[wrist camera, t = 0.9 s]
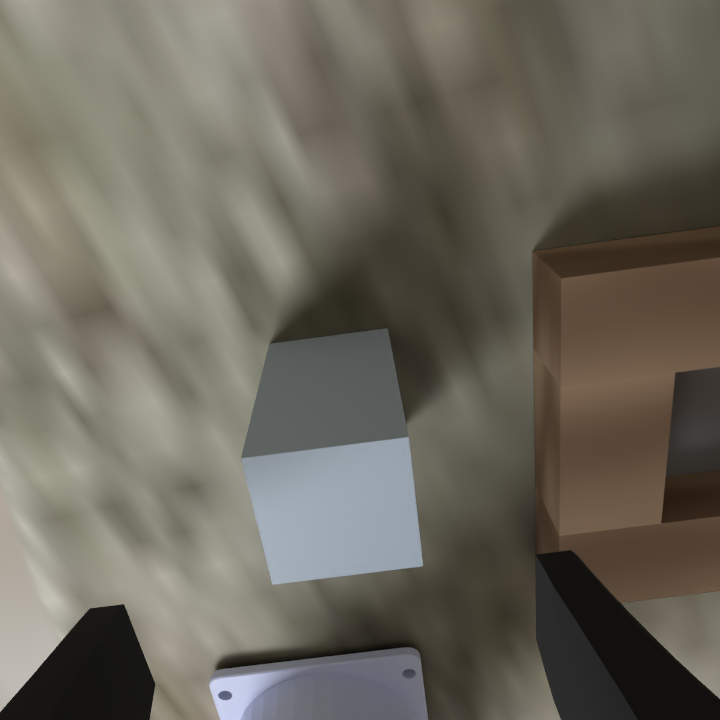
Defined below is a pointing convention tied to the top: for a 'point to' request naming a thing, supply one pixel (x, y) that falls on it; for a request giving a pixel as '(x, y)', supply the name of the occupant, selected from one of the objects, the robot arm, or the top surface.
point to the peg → (332, 460)
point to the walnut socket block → (630, 410)
